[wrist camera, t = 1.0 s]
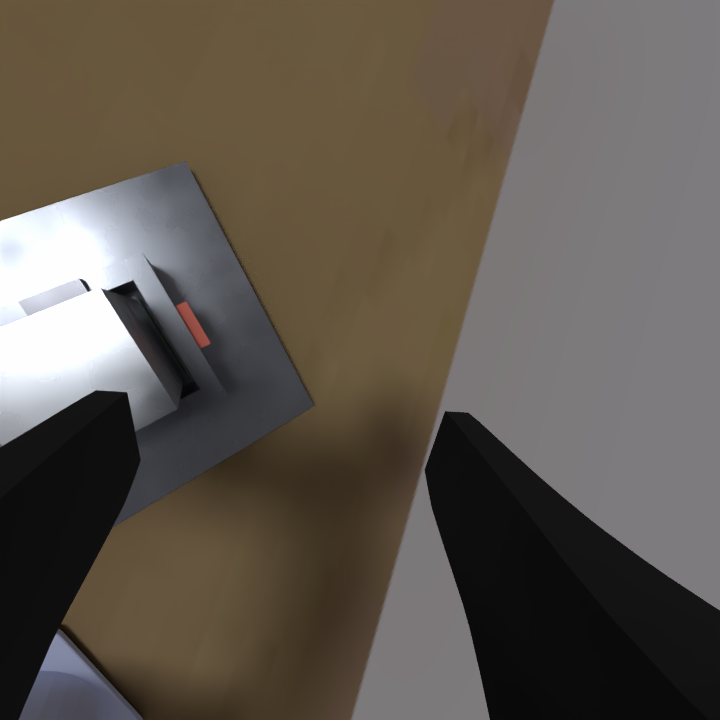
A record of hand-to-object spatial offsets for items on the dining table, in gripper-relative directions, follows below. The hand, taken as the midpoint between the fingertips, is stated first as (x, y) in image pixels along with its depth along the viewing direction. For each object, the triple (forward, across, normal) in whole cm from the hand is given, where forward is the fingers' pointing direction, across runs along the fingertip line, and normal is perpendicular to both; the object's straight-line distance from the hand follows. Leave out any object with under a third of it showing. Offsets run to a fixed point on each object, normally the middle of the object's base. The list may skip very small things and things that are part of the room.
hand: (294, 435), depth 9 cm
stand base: (+10, +8, +5) cm, 14 cm away
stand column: (+9, +8, +4) cm, 13 cm away
